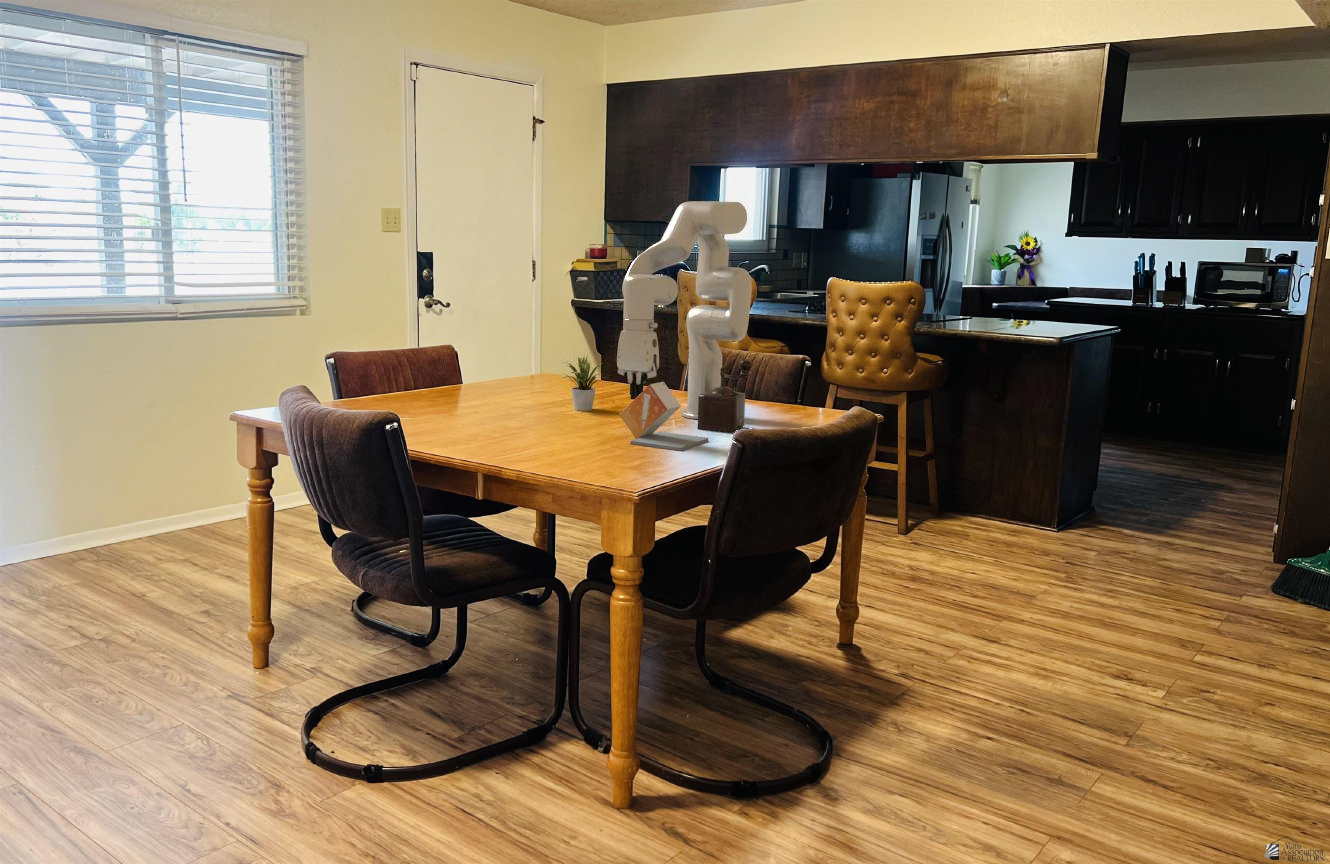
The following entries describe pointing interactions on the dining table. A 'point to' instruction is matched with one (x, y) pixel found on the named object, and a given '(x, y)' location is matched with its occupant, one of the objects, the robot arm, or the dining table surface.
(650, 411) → the small box
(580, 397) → the house plant
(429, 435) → the dining table surface
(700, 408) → the manual coffee grinder
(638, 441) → the mat
